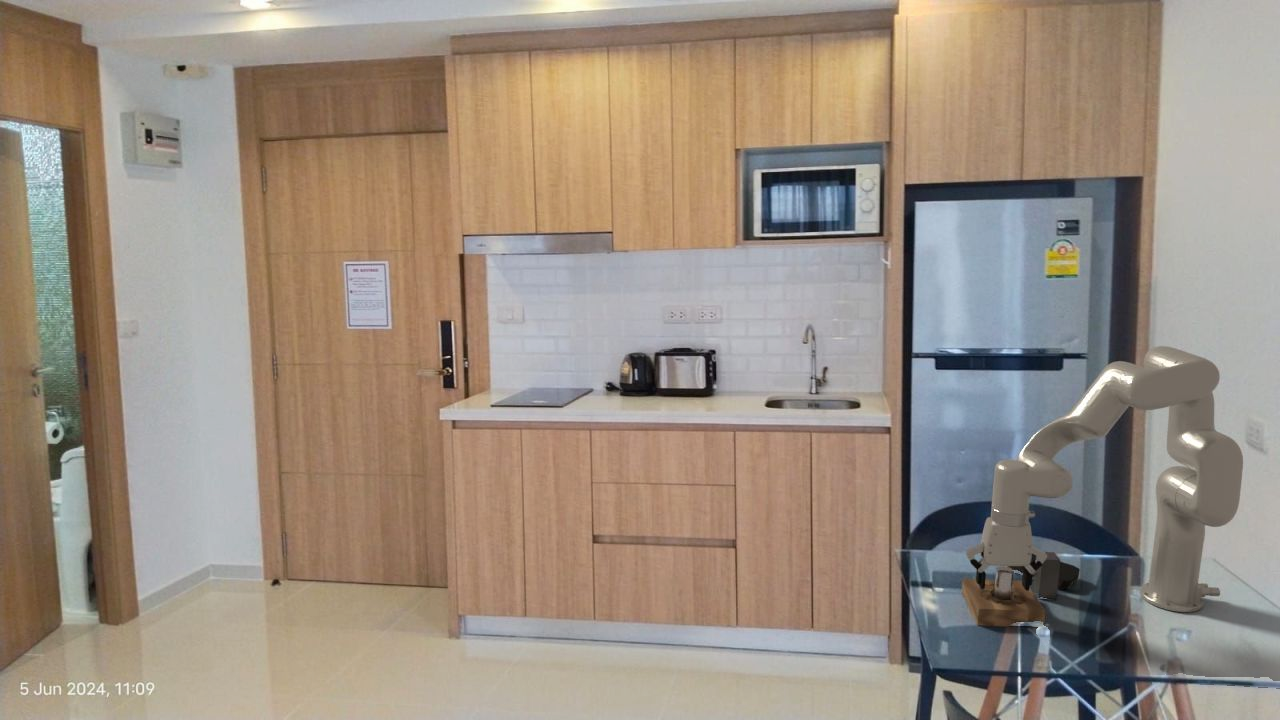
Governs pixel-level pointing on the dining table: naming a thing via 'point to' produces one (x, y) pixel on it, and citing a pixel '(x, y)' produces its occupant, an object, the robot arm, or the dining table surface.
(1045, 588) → the square bit
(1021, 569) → the black sponge
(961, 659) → the dining table surface
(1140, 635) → the dining table surface
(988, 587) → the socket block
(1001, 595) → the round bit
